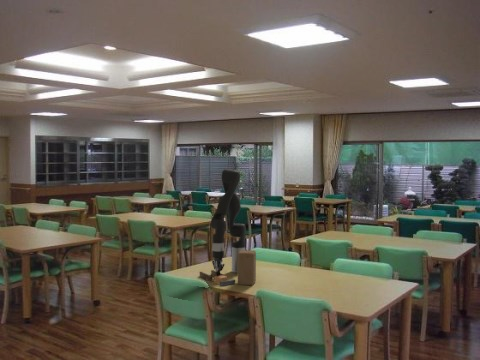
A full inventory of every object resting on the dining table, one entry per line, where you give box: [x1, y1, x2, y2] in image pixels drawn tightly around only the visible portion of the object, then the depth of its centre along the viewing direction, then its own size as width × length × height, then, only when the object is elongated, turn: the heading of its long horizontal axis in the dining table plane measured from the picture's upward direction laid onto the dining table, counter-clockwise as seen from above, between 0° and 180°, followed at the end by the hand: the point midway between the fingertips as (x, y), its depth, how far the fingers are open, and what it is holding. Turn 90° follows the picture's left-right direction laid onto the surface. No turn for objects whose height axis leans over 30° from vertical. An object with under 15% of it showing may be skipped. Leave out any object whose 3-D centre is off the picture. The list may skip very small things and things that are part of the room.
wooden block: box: [237, 249, 257, 286], centre depth 297 cm, size 10×10×20 cm
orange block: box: [213, 274, 228, 285], centre depth 300 cm, size 6×6×4 cm
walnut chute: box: [199, 269, 225, 282], centre depth 312 cm, size 10×16×3 cm, turn 31°
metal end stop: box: [219, 279, 236, 287], centre depth 294 cm, size 10×2×2 cm, turn 121°
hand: (218, 276), depth 304 cm, fingers closed
